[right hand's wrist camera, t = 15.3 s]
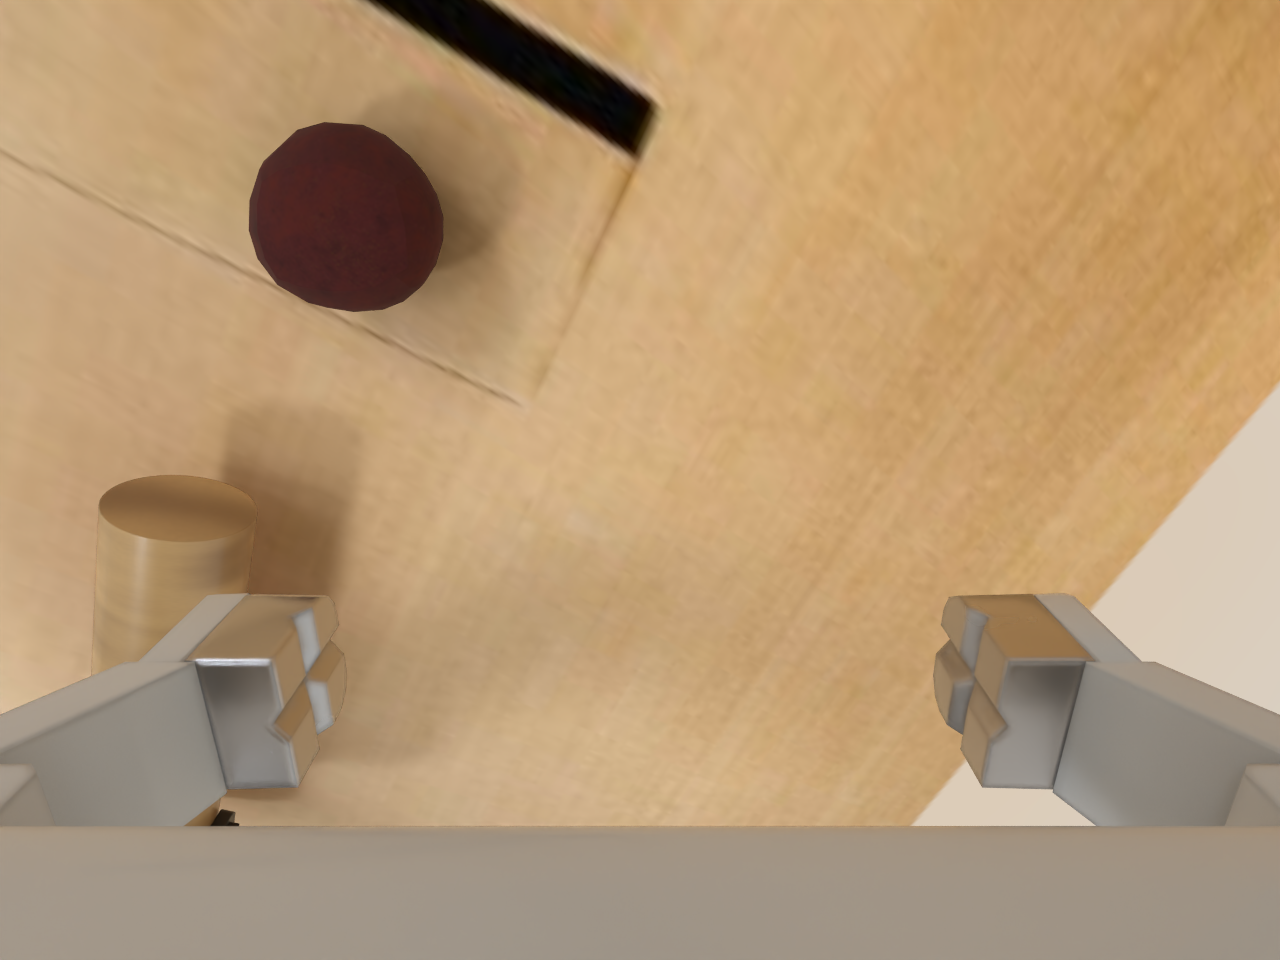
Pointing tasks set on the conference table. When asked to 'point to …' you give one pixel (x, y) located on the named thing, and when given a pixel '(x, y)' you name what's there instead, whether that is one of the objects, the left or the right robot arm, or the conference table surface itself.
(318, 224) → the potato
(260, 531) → the conference table surface
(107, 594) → the rod
